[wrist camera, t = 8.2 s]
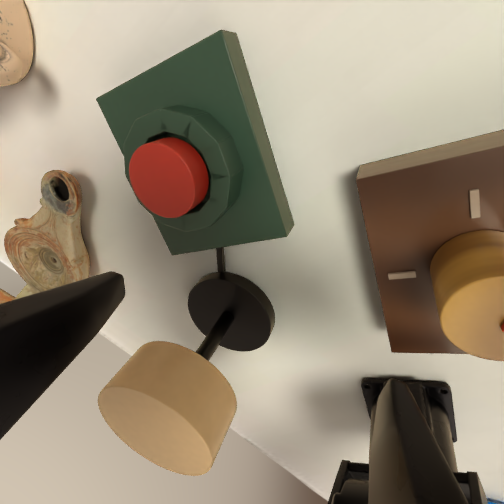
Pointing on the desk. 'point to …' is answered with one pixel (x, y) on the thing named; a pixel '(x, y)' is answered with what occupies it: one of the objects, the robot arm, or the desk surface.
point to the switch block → (206, 143)
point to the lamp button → (168, 176)
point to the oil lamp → (49, 239)
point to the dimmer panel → (426, 227)
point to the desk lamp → (188, 378)
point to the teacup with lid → (14, 42)
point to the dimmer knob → (471, 292)
